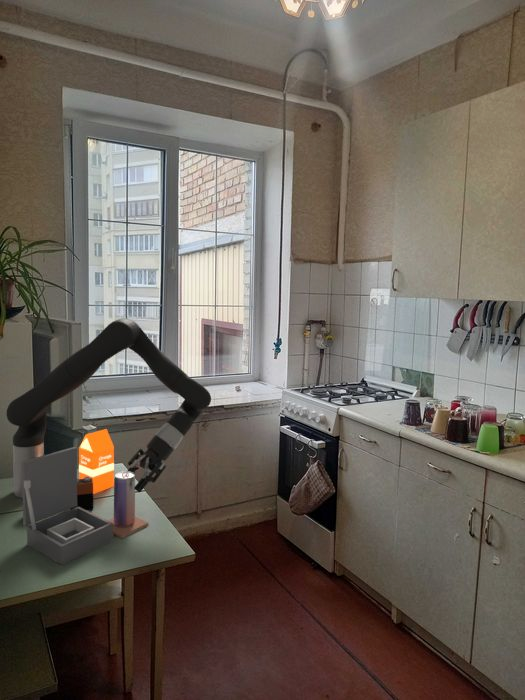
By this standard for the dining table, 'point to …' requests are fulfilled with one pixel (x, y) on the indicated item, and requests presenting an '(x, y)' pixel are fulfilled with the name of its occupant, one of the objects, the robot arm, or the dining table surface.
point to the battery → (85, 493)
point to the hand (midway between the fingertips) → (130, 485)
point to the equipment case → (59, 509)
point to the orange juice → (97, 460)
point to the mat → (128, 530)
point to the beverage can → (124, 499)
